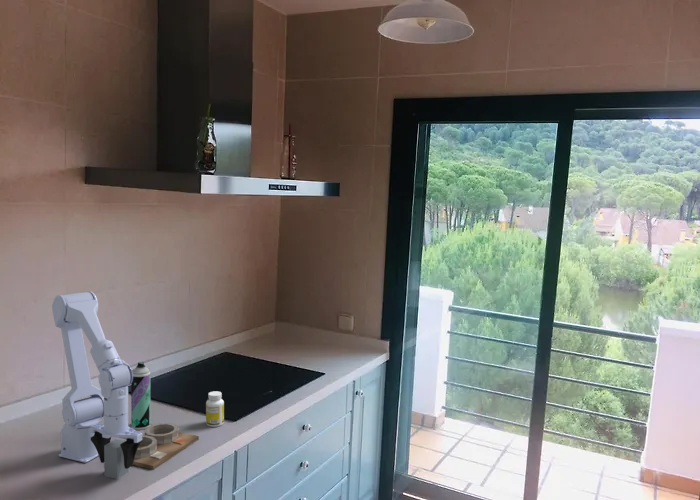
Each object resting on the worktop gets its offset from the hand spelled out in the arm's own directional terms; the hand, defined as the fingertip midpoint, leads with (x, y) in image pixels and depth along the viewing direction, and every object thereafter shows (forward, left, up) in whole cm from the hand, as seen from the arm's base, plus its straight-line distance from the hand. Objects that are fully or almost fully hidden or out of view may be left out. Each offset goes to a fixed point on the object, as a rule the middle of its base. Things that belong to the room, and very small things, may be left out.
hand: (116, 464), depth 148 cm
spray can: (-14, +26, -3) cm, 30 cm away
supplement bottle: (+5, +37, -3) cm, 37 cm away
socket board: (0, +16, -3) cm, 16 cm away
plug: (0, 0, -3) cm, 3 cm away
